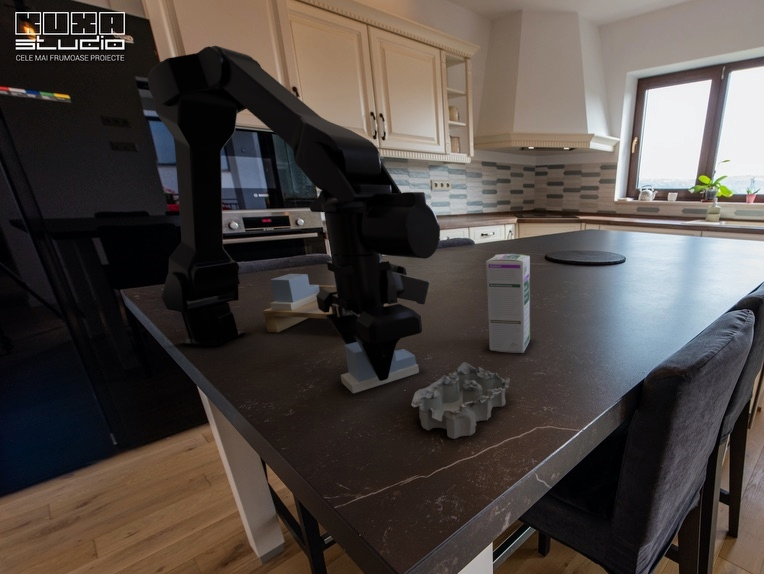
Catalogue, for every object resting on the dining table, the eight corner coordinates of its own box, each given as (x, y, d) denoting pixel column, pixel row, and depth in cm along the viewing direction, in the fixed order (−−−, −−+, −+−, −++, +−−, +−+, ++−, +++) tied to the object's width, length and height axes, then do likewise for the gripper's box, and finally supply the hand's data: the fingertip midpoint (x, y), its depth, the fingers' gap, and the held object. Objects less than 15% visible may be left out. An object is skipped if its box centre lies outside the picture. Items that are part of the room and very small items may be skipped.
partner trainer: (291, 310, 69) (285, 281, 68) (271, 309, 70) (264, 280, 68) (323, 297, 78) (318, 271, 76) (304, 296, 78) (299, 270, 77)
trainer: (353, 393, 49) (346, 355, 47) (341, 382, 52) (335, 346, 50) (419, 372, 55) (415, 338, 53) (405, 364, 58) (402, 330, 56)
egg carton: (462, 446, 39) (459, 410, 38) (407, 424, 43) (403, 391, 41) (516, 399, 48) (516, 369, 46) (466, 385, 51) (464, 356, 50)
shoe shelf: (267, 332, 71) (260, 299, 69) (309, 312, 82) (304, 284, 80) (361, 337, 68) (356, 303, 66) (391, 316, 79) (388, 287, 77)
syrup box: (524, 354, 61) (525, 260, 56) (487, 351, 62) (485, 258, 57) (530, 341, 67) (531, 254, 61) (496, 338, 68) (494, 253, 62)
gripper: (457, 255, 45) (463, 377, 51) (386, 240, 58) (397, 339, 64) (361, 266, 38) (380, 406, 44) (306, 247, 52) (326, 356, 57)
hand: (373, 371), depth 52 cm, fingers open, 6 cm apart
